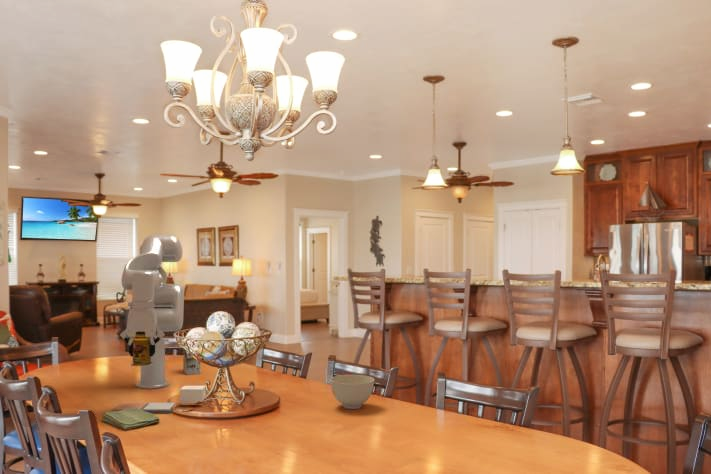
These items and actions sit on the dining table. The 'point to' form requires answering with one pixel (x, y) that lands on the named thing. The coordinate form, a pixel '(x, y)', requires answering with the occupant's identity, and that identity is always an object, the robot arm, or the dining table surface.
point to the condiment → (141, 350)
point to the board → (147, 407)
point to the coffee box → (190, 365)
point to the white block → (192, 394)
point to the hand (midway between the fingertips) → (142, 355)
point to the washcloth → (130, 418)
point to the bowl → (352, 389)
